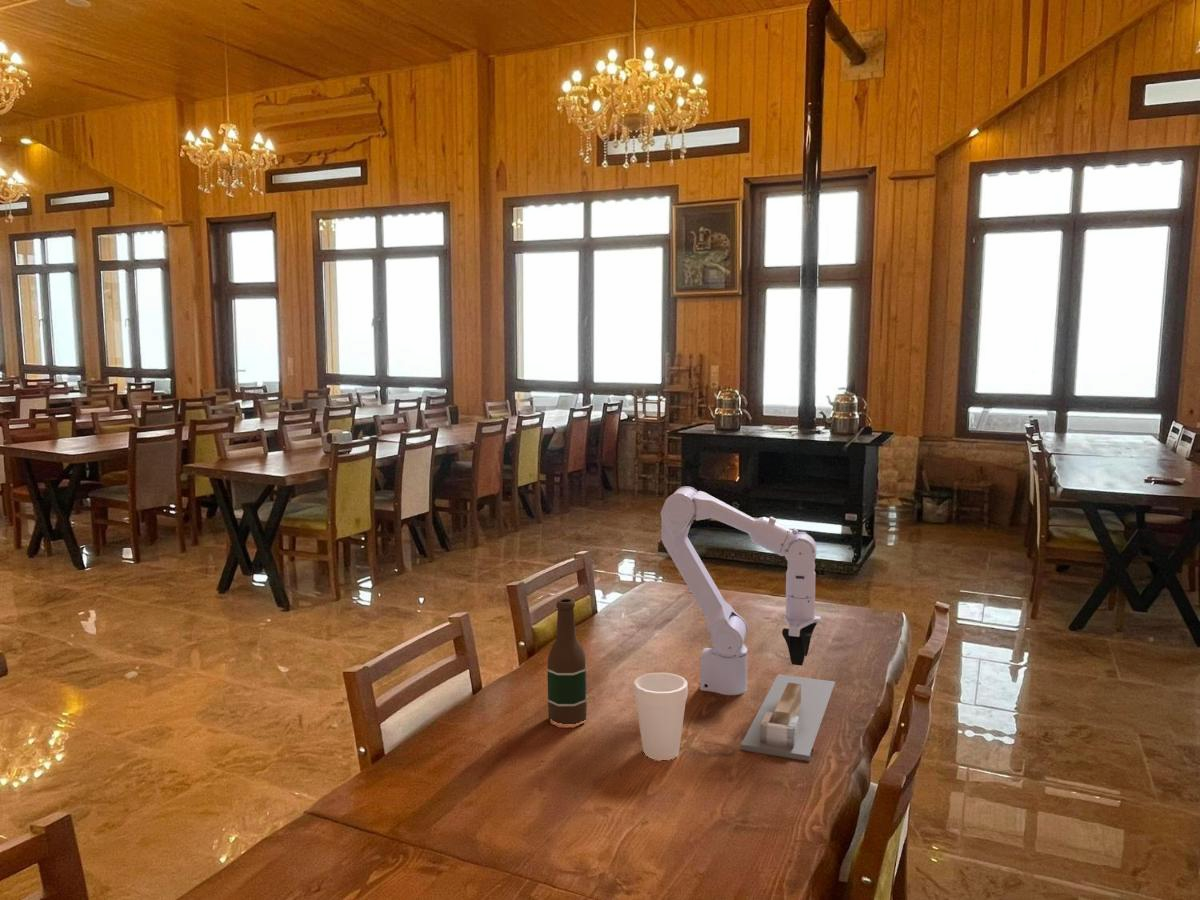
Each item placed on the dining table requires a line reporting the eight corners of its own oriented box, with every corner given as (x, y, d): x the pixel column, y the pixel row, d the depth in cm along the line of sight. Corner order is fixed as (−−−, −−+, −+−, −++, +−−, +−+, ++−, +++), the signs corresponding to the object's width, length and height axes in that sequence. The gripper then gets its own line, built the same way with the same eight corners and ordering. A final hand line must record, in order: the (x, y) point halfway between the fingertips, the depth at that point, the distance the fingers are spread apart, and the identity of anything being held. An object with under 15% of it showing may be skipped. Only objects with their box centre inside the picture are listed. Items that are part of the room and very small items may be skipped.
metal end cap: (760, 742, 153) (760, 724, 152) (766, 729, 158) (766, 711, 157) (793, 748, 150) (793, 729, 150) (798, 734, 156) (799, 716, 155)
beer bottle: (594, 715, 167) (592, 597, 164) (576, 732, 160) (574, 608, 157) (559, 709, 170) (556, 592, 167) (540, 725, 163) (537, 603, 160)
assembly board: (740, 749, 152) (741, 744, 152) (778, 678, 184) (778, 674, 184) (809, 761, 148) (809, 755, 148) (835, 686, 180) (835, 681, 180)
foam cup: (651, 770, 145) (651, 697, 144) (625, 747, 154) (624, 678, 152) (698, 757, 150) (698, 686, 148) (669, 736, 158) (669, 668, 156)
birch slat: (774, 734, 156) (774, 710, 155) (788, 704, 169) (788, 682, 168) (788, 736, 155) (788, 712, 154) (800, 706, 168) (801, 684, 167)
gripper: (815, 606, 163) (814, 675, 164) (825, 586, 176) (824, 650, 177) (778, 603, 165) (777, 670, 167) (791, 583, 178) (790, 646, 180)
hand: (799, 659), depth 172 cm, fingers open, 5 cm apart
